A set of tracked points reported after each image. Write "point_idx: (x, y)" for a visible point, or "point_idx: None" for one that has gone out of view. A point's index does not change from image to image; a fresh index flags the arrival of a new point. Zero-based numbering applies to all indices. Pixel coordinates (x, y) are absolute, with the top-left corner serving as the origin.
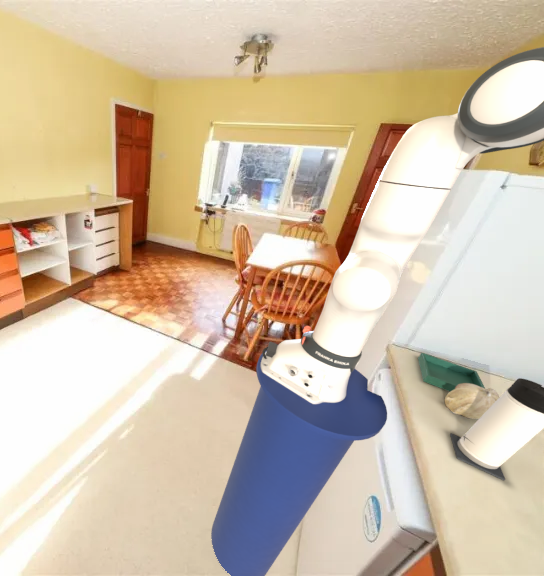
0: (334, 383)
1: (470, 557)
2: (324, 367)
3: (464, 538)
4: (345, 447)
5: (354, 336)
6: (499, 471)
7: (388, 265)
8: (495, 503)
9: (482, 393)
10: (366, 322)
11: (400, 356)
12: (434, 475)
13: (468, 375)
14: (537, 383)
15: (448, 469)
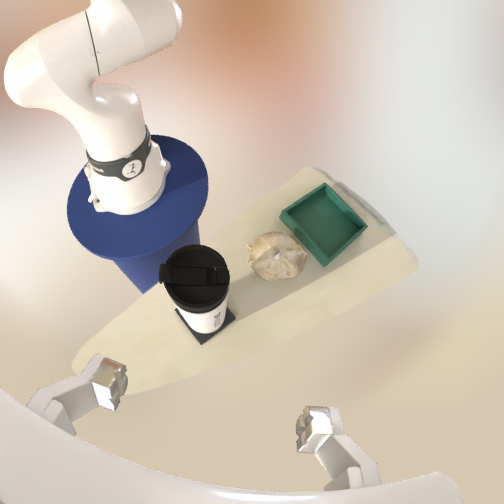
0: (106, 192)
1: (76, 367)
2: (93, 171)
3: (86, 358)
4: (137, 262)
5: (82, 134)
6: (206, 336)
7: (38, 38)
8: (155, 355)
9: (272, 252)
10: (68, 116)
11: (297, 180)
12: (123, 314)
13: (359, 228)
14: (224, 261)
15: (147, 315)
